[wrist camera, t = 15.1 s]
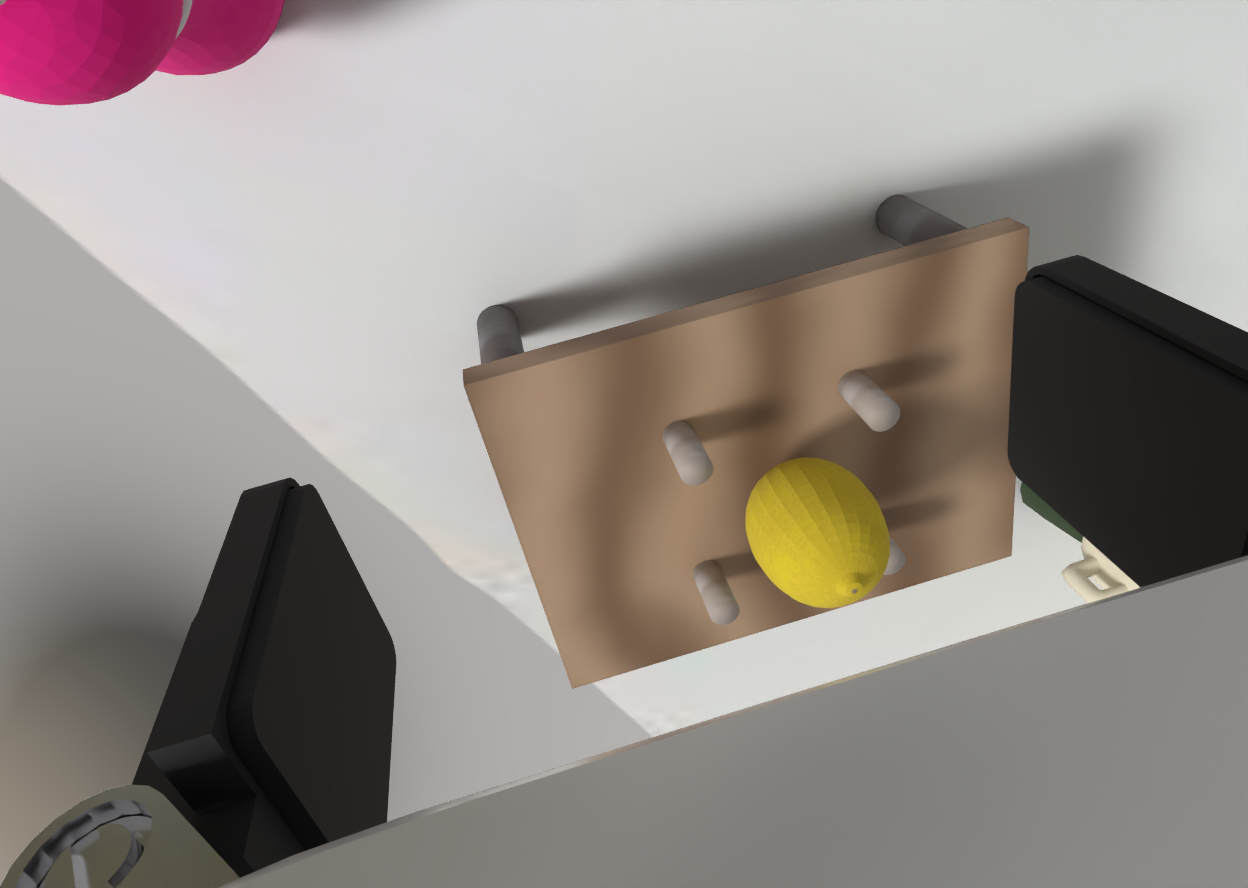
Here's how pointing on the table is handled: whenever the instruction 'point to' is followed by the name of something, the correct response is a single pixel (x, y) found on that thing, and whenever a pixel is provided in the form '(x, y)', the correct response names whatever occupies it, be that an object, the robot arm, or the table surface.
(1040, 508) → the character mug
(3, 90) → the pepper mill
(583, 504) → the peg shelf
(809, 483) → the lemon
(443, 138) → the table surface
